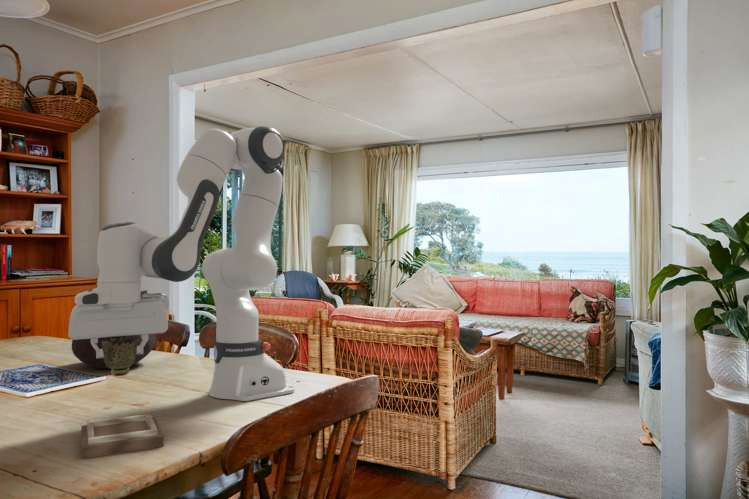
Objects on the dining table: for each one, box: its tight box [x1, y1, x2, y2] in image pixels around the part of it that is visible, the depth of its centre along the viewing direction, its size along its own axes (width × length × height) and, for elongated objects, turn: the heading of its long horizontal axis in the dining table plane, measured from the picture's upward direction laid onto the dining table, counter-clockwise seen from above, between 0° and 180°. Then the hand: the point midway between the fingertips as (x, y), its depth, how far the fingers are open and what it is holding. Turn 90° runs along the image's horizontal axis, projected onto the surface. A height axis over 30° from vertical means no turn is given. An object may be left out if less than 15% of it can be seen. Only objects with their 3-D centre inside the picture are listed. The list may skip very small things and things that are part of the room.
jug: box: [71, 289, 157, 370], centre depth 180 cm, size 25×25×25 cm
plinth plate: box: [80, 413, 165, 459], centre depth 109 cm, size 14×14×3 cm
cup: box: [101, 337, 138, 377], centre depth 122 cm, size 8×7×8 cm
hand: (120, 356), depth 122 cm, fingers closed on cup, 7 cm apart
